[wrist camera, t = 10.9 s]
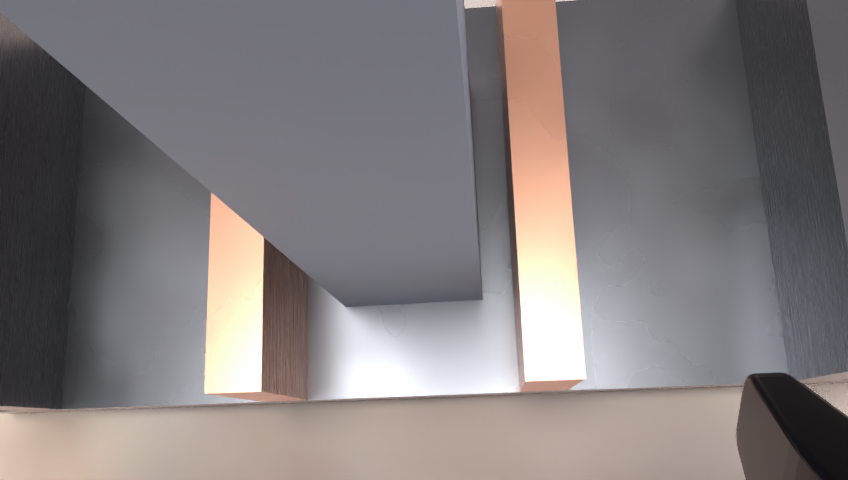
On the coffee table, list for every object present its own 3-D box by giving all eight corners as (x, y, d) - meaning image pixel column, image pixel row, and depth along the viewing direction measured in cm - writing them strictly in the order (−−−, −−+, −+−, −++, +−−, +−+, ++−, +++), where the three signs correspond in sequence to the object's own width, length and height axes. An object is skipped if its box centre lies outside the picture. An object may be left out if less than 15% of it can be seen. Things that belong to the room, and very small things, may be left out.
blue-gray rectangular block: (482, 299, 17) (450, -74, 5) (345, 307, 17) (-47, -29, 5) (469, 86, 18) (415, -674, 6) (342, 95, 19) (20, -616, 6)
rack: (856, 381, 17) (981, 363, 13) (11, 413, 18) (-138, 406, 14) (795, 5, 19) (884, -121, 15) (43, 60, 21) (-77, -40, 16)
